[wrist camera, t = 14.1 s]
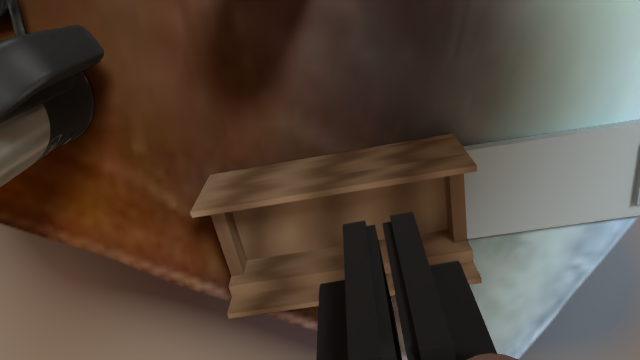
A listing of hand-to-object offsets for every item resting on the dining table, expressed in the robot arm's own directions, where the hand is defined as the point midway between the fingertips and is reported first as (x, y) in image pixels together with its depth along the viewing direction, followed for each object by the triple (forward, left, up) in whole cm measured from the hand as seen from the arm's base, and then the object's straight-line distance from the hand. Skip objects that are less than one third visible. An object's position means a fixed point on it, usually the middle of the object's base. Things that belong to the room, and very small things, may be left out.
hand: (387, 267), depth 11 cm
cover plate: (-17, +15, -29) cm, 37 cm away
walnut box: (+3, +14, -28) cm, 32 cm away
